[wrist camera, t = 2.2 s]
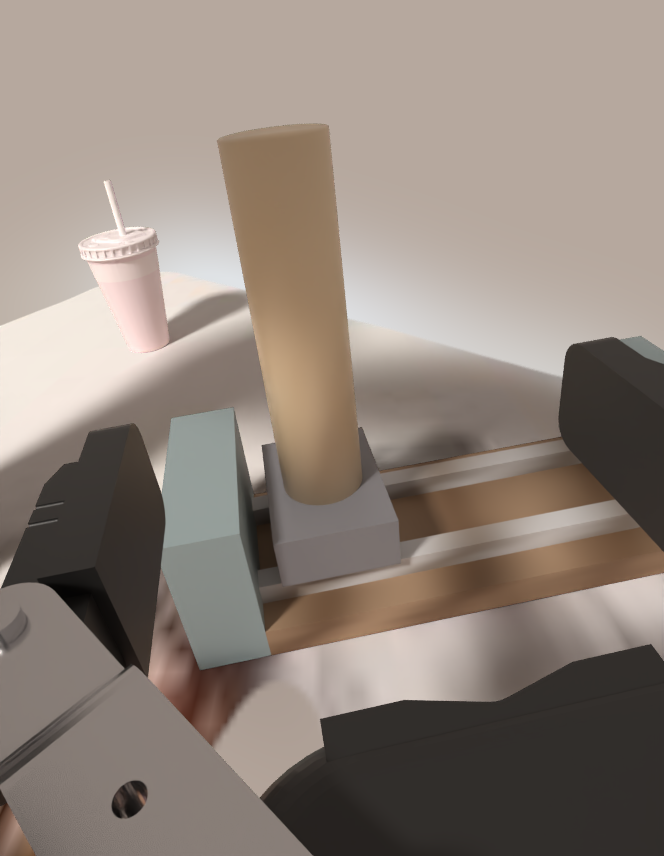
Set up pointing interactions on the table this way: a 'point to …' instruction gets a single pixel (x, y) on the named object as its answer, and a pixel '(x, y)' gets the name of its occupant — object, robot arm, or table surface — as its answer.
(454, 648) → the table surface
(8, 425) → the table surface
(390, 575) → the rail bed
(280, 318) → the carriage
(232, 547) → the pair of sage blocks
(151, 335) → the smoothie
